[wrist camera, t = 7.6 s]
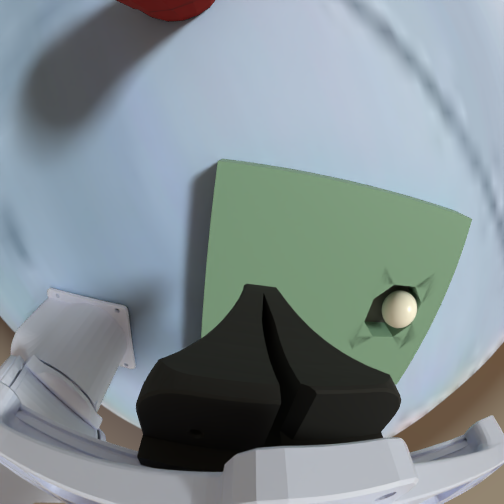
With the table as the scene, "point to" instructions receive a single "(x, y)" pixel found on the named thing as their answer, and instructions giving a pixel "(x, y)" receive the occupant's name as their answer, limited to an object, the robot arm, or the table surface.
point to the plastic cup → (170, 8)
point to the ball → (399, 309)
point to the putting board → (331, 256)
